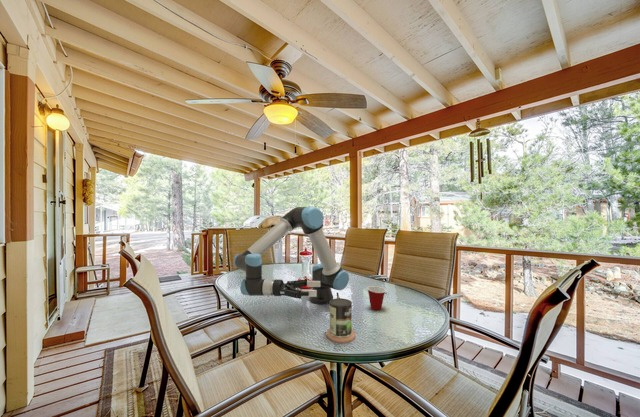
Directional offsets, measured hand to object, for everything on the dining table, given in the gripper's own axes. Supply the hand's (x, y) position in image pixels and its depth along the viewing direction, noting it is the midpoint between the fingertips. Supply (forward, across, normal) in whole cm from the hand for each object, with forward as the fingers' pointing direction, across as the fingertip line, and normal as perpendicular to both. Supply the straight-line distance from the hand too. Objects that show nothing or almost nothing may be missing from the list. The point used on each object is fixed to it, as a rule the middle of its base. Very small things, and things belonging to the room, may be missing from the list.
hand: (318, 288), depth 120 cm
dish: (+10, 0, -22) cm, 24 cm away
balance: (+8, -22, -22) cm, 32 cm away
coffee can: (+10, 0, -20) cm, 23 cm away
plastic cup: (+29, -35, -23) cm, 51 cm away
